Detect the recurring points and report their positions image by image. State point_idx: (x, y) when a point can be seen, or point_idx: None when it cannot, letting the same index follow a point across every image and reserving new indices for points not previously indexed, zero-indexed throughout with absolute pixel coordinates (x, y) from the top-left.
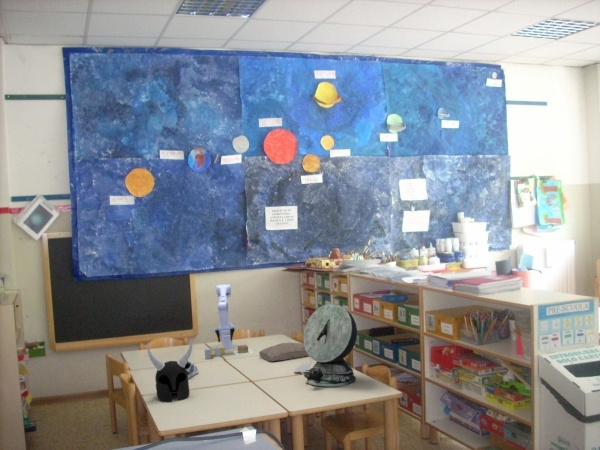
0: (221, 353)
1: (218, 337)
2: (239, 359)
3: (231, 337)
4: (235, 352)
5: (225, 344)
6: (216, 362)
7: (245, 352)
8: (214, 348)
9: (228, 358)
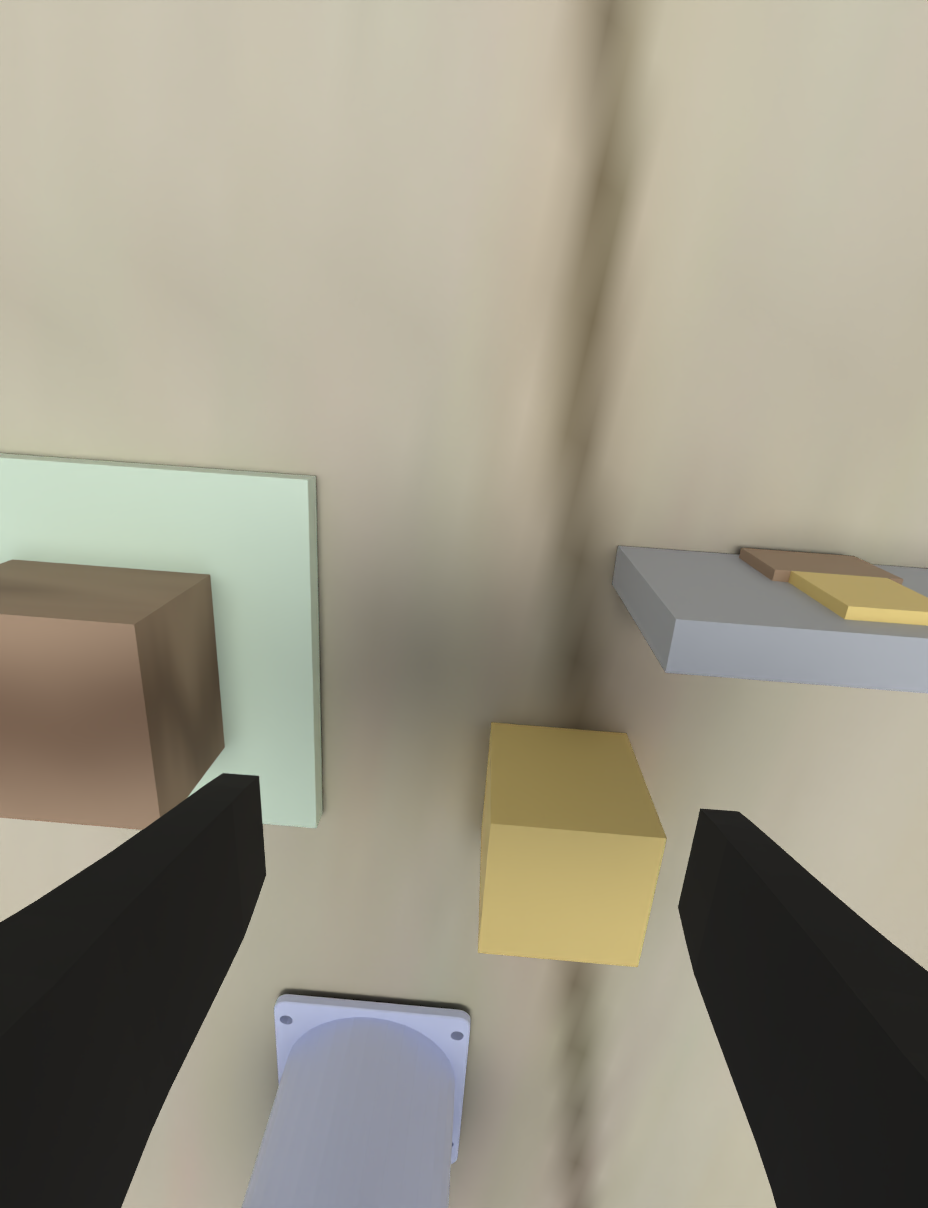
0: (561, 747)
1: (909, 974)
2: (255, 26)
3: (158, 853)
4: (277, 716)
5: (394, 1122)
6: (893, 18)
7: (68, 566)
8: (846, 684)
9: (494, 344)
